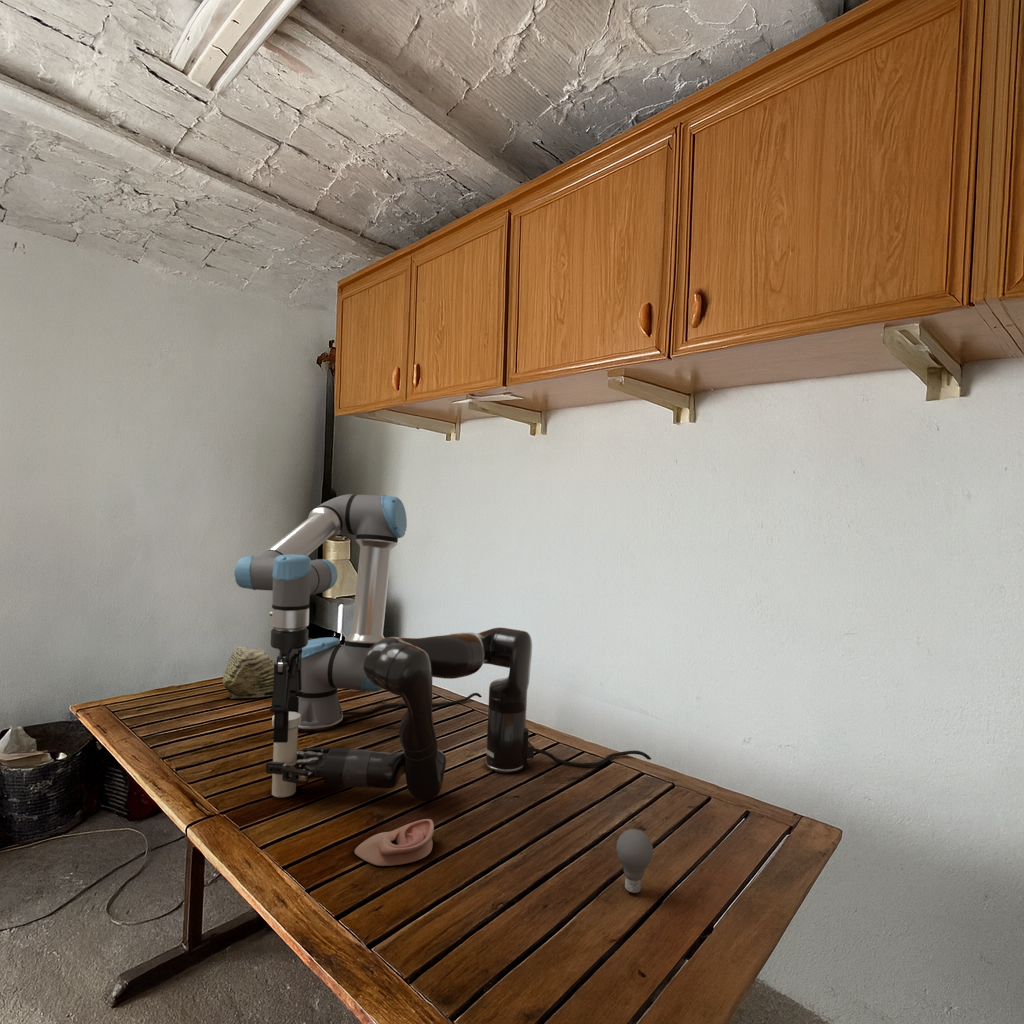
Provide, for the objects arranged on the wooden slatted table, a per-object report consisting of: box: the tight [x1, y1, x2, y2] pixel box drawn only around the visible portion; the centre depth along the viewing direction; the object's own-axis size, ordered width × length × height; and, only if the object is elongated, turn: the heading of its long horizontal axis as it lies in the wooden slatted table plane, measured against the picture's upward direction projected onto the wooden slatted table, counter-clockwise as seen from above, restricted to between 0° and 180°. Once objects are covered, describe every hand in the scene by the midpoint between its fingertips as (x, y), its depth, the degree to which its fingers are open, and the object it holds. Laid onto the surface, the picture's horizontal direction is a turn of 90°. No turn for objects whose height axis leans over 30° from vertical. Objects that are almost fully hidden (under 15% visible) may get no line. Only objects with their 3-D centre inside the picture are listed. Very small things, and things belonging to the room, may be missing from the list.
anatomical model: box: [354, 818, 435, 867], centre depth 115 cm, size 13×4×12 cm
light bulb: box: [615, 828, 654, 894], centre depth 106 cm, size 6×6×10 cm
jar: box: [271, 726, 299, 798], centre depth 135 cm, size 5×5×16 cm
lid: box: [271, 712, 301, 728], centre depth 135 cm, size 6×6×2 cm
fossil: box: [222, 646, 275, 699], centre depth 198 cm, size 9×18×15 cm, turn 132°
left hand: (285, 734), depth 135 cm, fingers open, 8 cm apart
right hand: (272, 762), depth 135 cm, fingers closed on jar, 5 cm apart
